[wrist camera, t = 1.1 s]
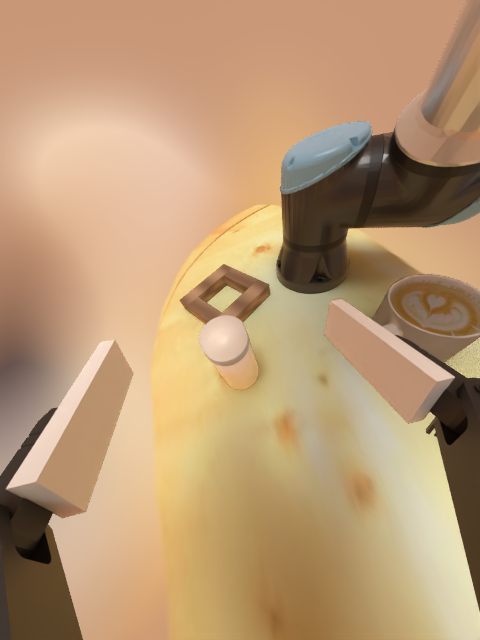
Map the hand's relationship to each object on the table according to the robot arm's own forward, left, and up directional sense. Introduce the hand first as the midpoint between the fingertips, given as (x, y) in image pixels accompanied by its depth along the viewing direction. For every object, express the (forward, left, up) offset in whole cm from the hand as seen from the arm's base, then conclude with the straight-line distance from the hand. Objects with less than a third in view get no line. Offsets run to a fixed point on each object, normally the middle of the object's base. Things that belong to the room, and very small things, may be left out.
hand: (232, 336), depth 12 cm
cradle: (-12, -21, -21) cm, 33 cm away
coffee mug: (-20, +9, -22) cm, 31 cm away
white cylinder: (-2, -7, -22) cm, 23 cm away
